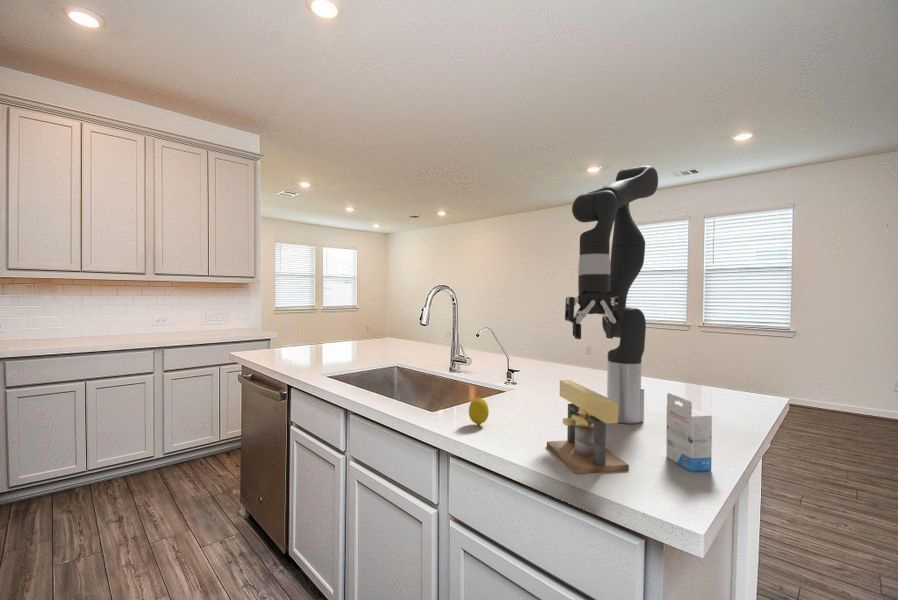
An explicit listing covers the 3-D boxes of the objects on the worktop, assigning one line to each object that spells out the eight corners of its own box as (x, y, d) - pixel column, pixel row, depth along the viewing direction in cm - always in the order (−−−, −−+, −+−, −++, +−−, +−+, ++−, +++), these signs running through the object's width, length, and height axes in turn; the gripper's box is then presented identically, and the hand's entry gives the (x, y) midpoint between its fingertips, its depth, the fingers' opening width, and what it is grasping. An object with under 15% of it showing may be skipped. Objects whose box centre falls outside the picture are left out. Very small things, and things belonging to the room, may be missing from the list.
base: (593, 444, 100) (593, 402, 100) (628, 470, 85) (629, 421, 85) (546, 446, 98) (547, 403, 98) (575, 473, 83) (575, 423, 83)
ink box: (712, 471, 85) (713, 401, 84) (690, 472, 84) (691, 401, 84) (685, 455, 93) (686, 391, 93) (665, 456, 93) (666, 391, 92)
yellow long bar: (582, 409, 103) (583, 379, 103) (634, 441, 81) (635, 402, 81) (545, 411, 101) (545, 380, 101) (588, 443, 80) (588, 404, 80)
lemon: (487, 429, 110) (487, 400, 110) (467, 427, 111) (467, 399, 111) (489, 423, 115) (489, 395, 115) (470, 421, 117) (470, 394, 116)
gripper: (612, 274, 105) (612, 336, 105) (560, 273, 103) (560, 337, 103) (629, 272, 98) (628, 339, 98) (573, 272, 96) (573, 340, 96)
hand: (593, 338), depth 101 cm, fingers open, 8 cm apart
